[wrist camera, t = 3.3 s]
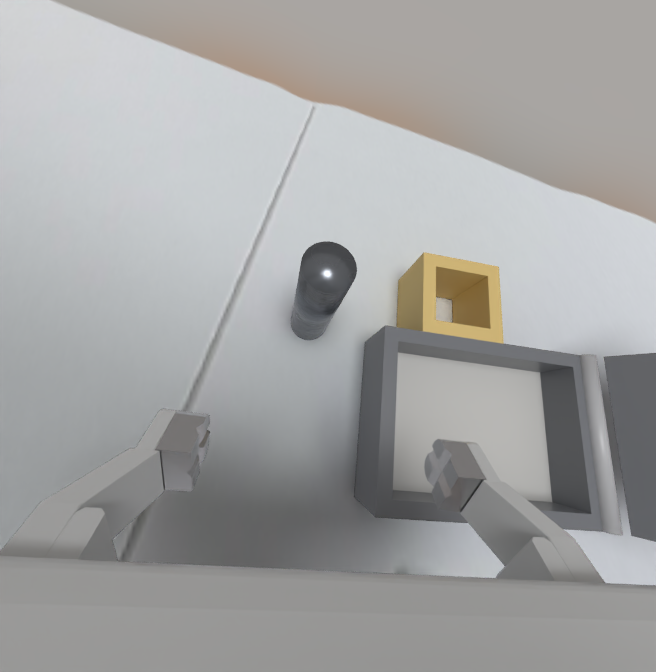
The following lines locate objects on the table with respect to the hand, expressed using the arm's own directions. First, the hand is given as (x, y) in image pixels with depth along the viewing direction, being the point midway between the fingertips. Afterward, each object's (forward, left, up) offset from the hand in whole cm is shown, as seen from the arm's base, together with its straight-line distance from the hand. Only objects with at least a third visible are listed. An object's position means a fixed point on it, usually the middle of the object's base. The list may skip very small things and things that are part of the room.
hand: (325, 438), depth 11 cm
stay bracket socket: (+11, +11, -13) cm, 20 cm away
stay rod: (0, +8, -13) cm, 16 cm away
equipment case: (+13, +1, -13) cm, 18 cm away
